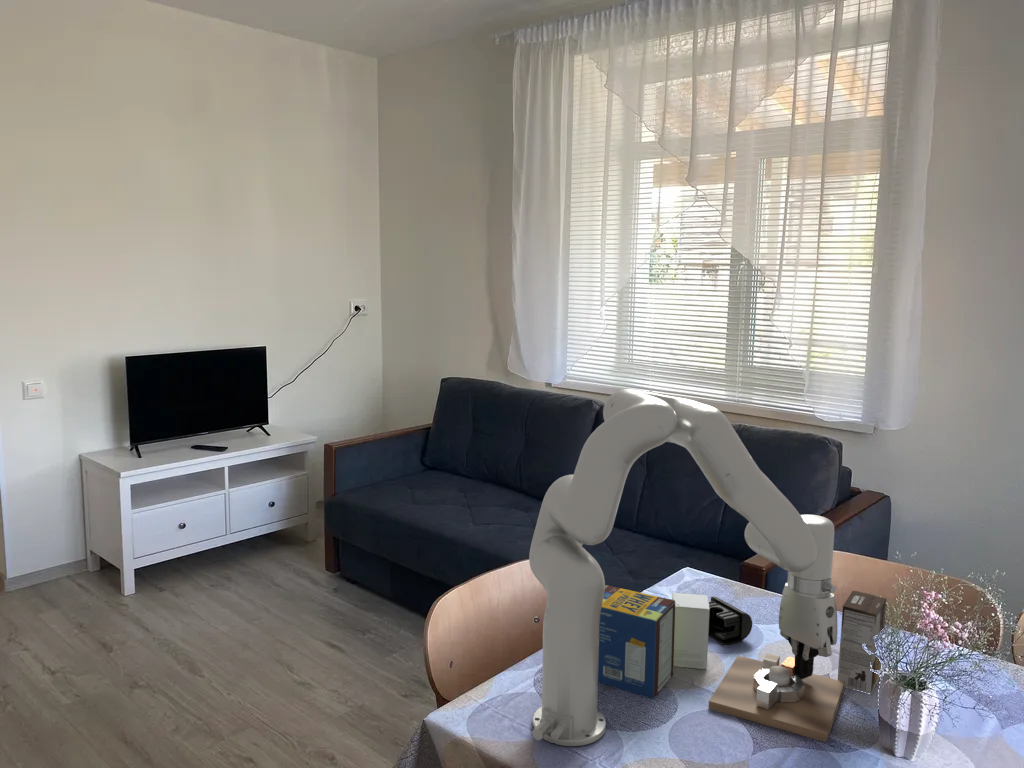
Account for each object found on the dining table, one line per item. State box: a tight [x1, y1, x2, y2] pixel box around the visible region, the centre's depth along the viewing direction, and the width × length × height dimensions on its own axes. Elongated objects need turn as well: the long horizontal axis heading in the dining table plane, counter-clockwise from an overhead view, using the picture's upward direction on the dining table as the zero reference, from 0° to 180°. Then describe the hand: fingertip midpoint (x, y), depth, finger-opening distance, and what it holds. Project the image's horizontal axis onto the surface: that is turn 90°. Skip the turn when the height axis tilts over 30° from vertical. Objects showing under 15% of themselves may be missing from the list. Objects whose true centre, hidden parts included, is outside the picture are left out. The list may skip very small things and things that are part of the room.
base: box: [708, 652, 845, 743], centre depth 146 cm, size 20×20×6 cm
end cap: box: [708, 596, 753, 647], centre depth 172 cm, size 10×7×7 cm
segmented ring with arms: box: [753, 656, 805, 710], centre depth 146 cm, size 16×8×3 cm, turn 141°
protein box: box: [598, 584, 675, 700], centre depth 153 cm, size 10×15×16 cm
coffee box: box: [837, 590, 887, 695], centre depth 152 cm, size 9×6×16 cm
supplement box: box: [671, 592, 710, 670], centre depth 160 cm, size 7×7×13 cm
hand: (803, 675), depth 149 cm, fingers closed
